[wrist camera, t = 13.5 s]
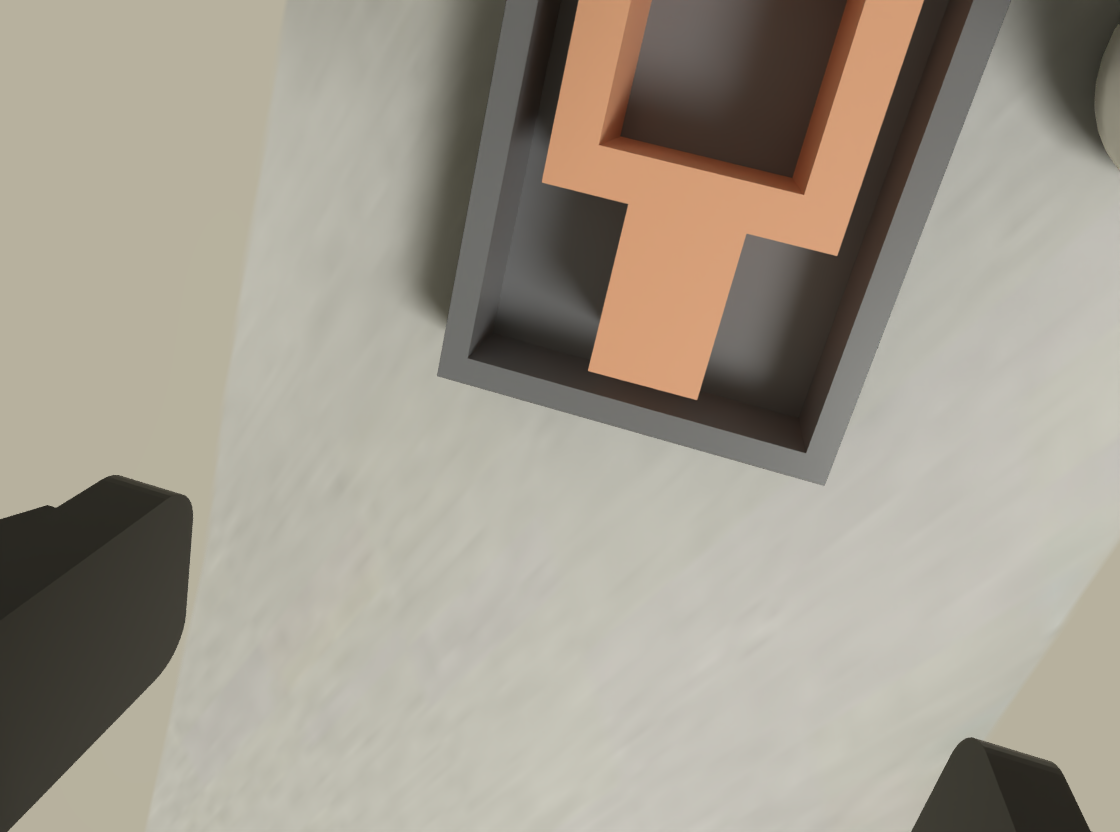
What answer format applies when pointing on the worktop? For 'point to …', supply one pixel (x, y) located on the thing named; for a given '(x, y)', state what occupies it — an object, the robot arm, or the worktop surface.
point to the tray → (764, 265)
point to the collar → (708, 185)
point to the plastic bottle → (1109, 98)
